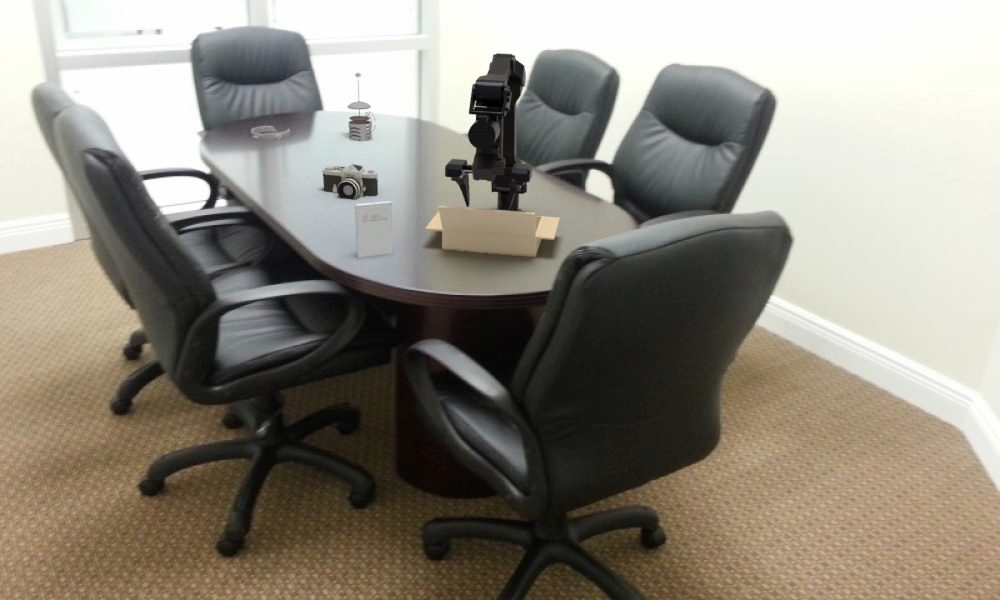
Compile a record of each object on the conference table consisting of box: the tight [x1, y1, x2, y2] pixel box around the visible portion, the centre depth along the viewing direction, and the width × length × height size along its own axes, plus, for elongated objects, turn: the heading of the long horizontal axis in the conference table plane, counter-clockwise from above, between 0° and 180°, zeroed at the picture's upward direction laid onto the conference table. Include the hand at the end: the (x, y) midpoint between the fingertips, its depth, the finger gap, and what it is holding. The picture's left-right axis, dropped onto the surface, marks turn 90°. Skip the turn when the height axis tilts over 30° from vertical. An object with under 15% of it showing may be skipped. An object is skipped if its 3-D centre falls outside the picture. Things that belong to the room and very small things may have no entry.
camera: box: [321, 163, 379, 200], centre depth 224 cm, size 16×9×10 cm, turn 78°
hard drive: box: [354, 200, 394, 258], centre depth 182 cm, size 2×8×12 cm, turn 115°
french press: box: [346, 72, 376, 142], centre depth 282 cm, size 10×12×25 cm
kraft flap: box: [438, 205, 536, 237], centre depth 182 cm, size 8×22×1 cm
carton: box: [425, 210, 561, 258], centre depth 194 cm, size 16×30×5 cm, turn 81°
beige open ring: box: [250, 125, 292, 141], centre depth 285 cm, size 14×14×5 cm
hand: (488, 207), depth 181 cm, fingers open, 9 cm apart
